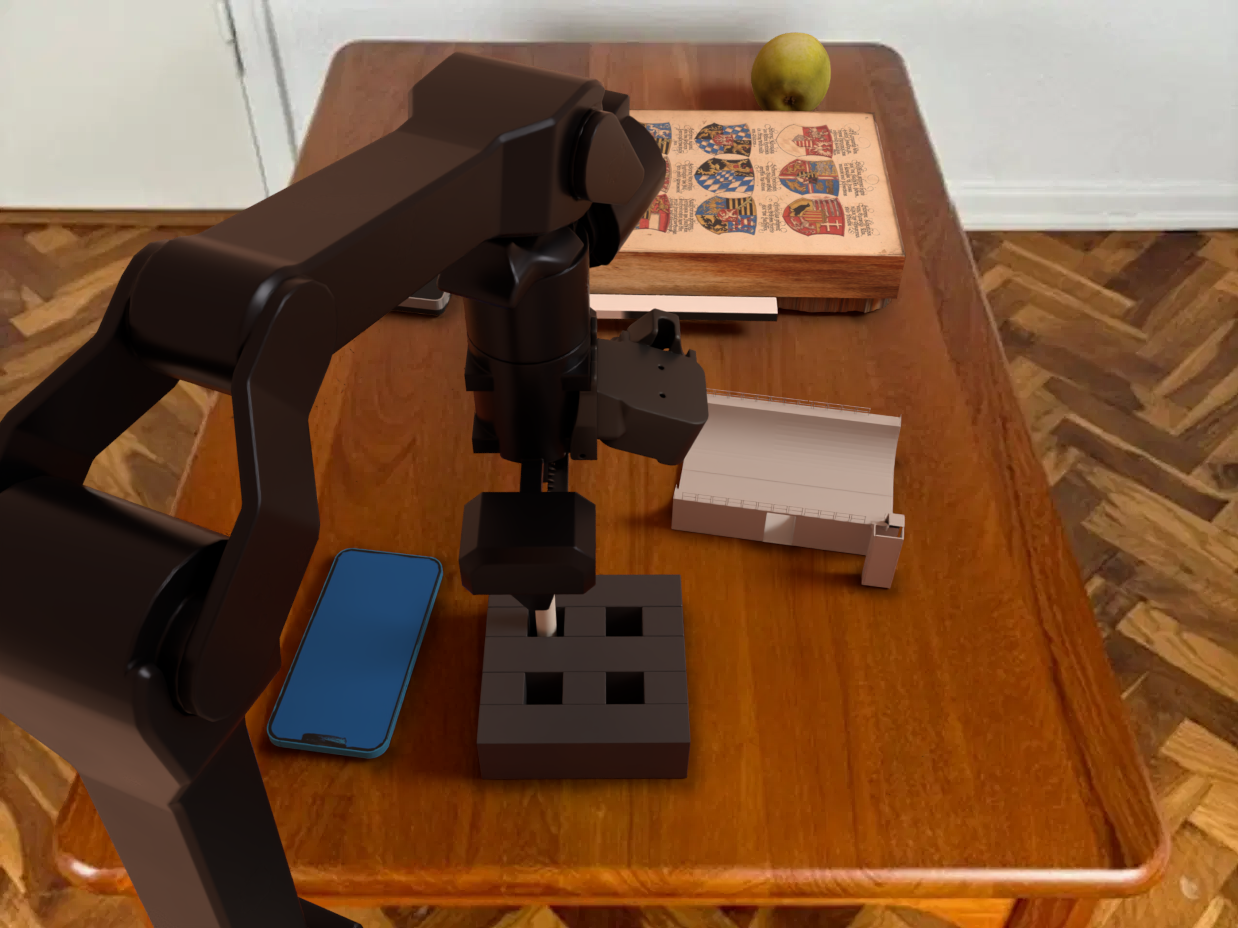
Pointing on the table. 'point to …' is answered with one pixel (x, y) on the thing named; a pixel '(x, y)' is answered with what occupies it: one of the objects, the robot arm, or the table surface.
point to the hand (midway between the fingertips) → (541, 541)
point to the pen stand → (587, 685)
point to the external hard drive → (426, 300)
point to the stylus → (546, 621)
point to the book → (759, 219)
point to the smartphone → (357, 654)
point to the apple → (791, 73)
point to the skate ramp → (795, 479)
